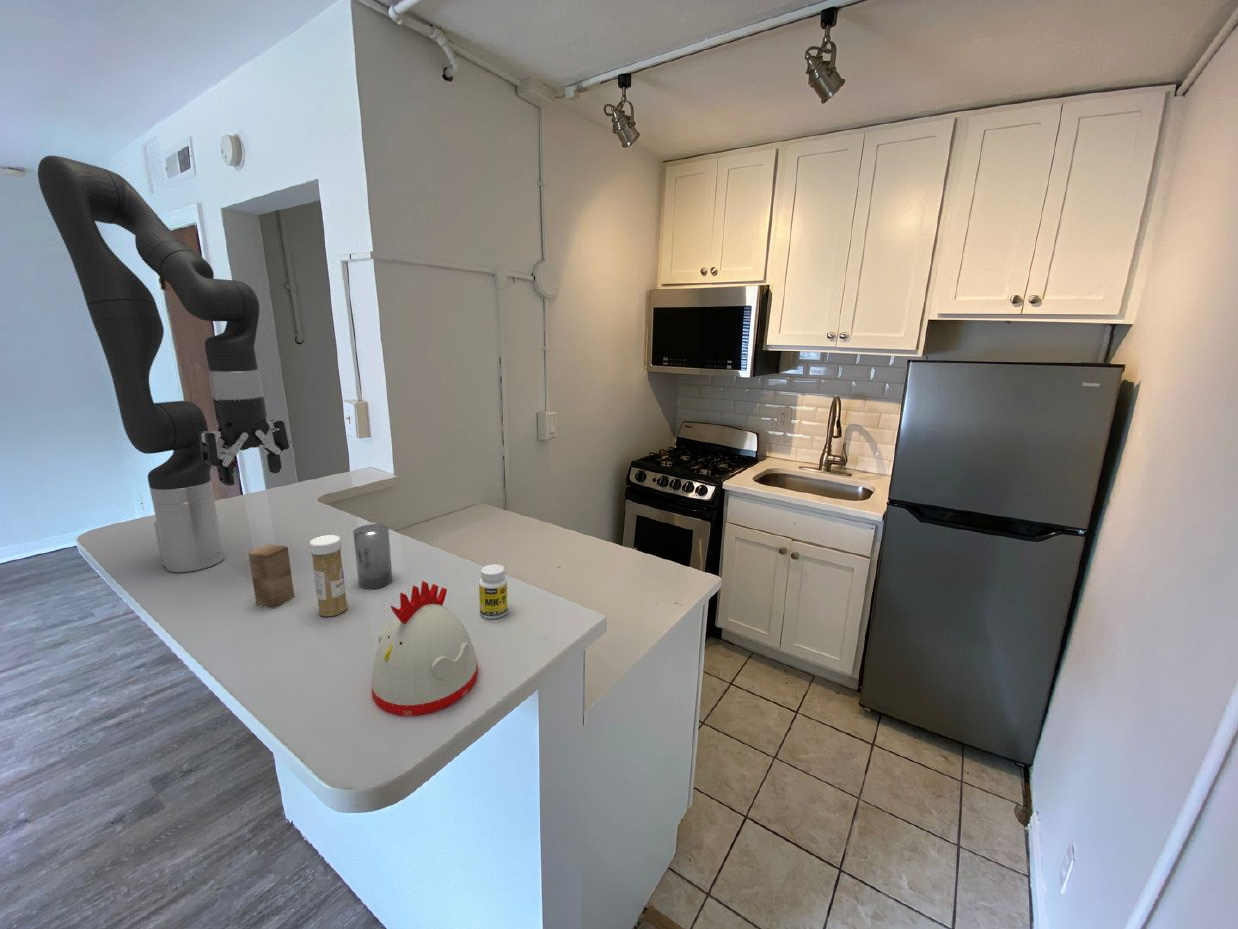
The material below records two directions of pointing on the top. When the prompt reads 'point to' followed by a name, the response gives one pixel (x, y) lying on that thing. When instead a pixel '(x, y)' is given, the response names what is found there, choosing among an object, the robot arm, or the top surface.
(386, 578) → the grey metal tin
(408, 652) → the kitchen timer
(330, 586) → the sprinkles bottle
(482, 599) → the supplement bottle
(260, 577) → the walnut block
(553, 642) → the top surface
